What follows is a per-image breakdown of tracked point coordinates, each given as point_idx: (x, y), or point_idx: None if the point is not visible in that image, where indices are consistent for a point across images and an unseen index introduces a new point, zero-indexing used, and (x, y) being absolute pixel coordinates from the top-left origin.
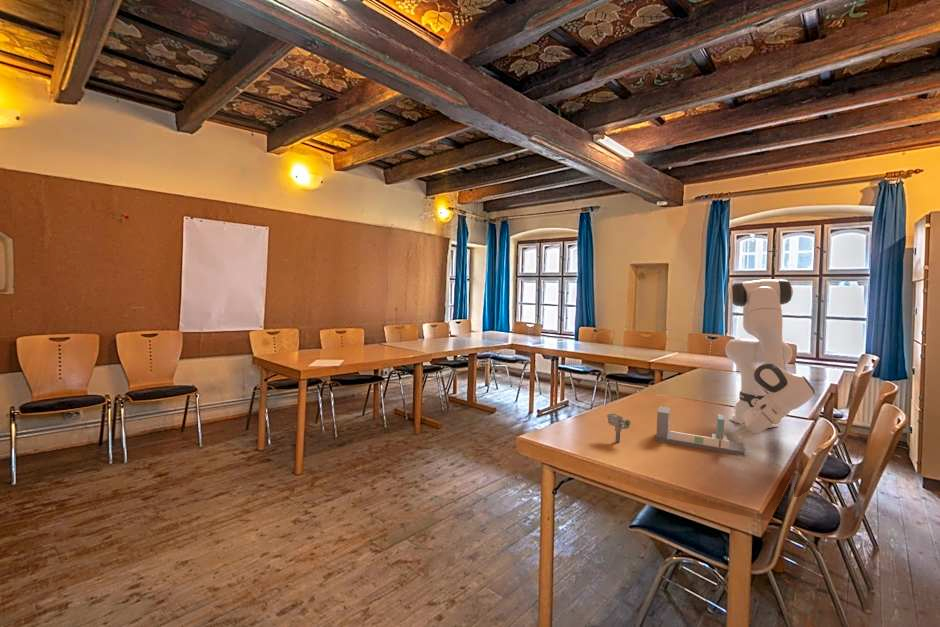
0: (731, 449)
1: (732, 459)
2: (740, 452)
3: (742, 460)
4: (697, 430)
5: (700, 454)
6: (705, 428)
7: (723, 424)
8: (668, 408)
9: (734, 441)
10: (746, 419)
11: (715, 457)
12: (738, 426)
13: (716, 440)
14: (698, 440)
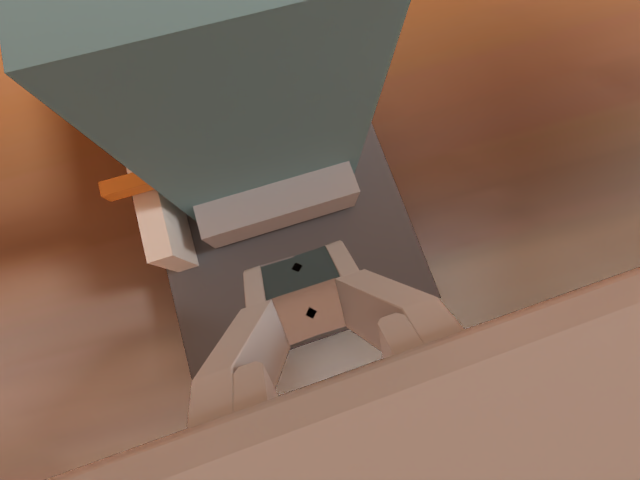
0: (183, 287)
1: (63, 332)
2: (189, 350)
3: (92, 390)
4: (525, 6)
5: (19, 157)
6: (619, 24)
7: (72, 122)
8: None
9: (417, 247)
10: (246, 477)
11: (24, 240)
12: (324, 278)
13: (131, 172)
14: None
